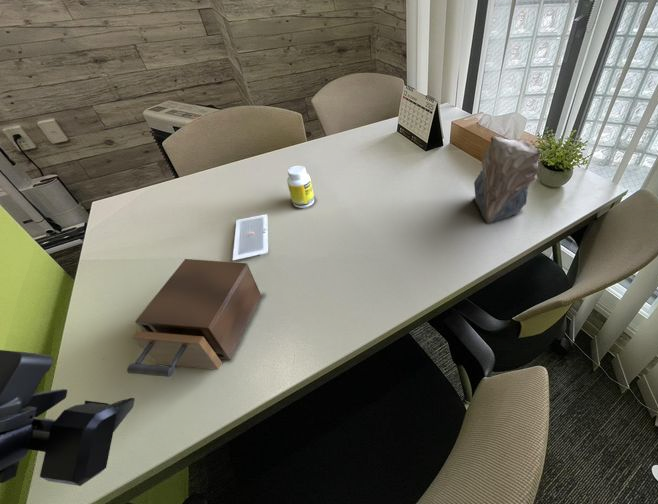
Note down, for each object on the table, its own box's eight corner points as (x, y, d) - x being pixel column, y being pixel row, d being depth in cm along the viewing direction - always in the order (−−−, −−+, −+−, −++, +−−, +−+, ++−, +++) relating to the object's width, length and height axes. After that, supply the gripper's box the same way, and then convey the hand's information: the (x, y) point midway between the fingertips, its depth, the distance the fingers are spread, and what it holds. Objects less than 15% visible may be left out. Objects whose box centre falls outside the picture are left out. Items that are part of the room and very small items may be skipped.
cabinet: (230, 359, 58) (208, 327, 52) (164, 353, 59) (134, 321, 53) (262, 296, 69) (247, 263, 62) (205, 292, 70) (185, 258, 63)
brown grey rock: (470, 195, 97) (480, 134, 84) (510, 191, 98) (526, 131, 86) (485, 223, 87) (499, 159, 74) (529, 219, 88) (551, 154, 76)
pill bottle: (312, 208, 92) (304, 176, 85) (290, 208, 92) (281, 176, 85) (316, 195, 97) (310, 163, 90) (296, 195, 97) (288, 163, 90)
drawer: (203, 399, 52) (180, 374, 47) (137, 392, 53) (107, 367, 48) (251, 307, 66) (237, 279, 60) (197, 302, 67) (179, 275, 61)
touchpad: (234, 263, 76) (231, 257, 75) (237, 223, 87) (235, 217, 86) (269, 255, 78) (266, 249, 77) (268, 217, 89) (266, 211, 88)
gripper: (35, 385, 26) (181, 337, 41) (-165, 359, 27) (48, 323, 43) (-5, 547, 24) (163, 434, 39) (-216, 510, 25) (25, 415, 41)
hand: (99, 397), depth 40 cm, fingers open, 9 cm apart
